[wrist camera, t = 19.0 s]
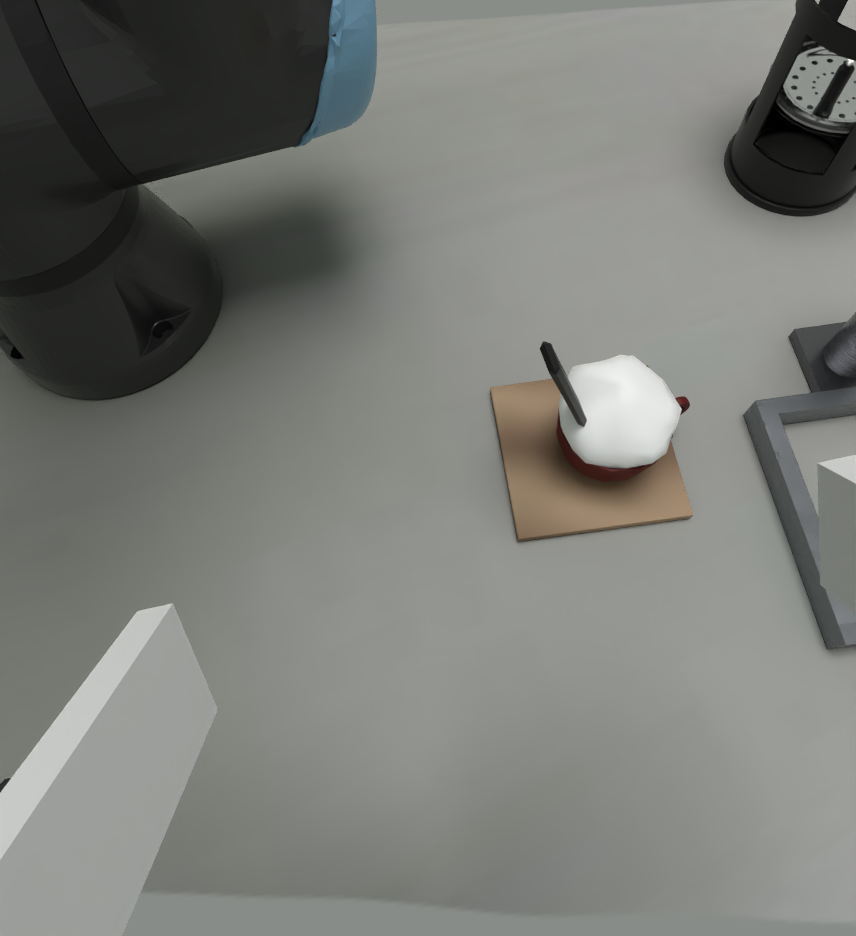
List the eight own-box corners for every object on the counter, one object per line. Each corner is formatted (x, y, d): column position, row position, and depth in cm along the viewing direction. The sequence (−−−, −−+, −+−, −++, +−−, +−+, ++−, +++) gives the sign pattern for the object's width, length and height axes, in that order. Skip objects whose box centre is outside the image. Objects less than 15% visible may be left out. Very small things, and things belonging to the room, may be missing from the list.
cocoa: (670, 409, 39) (761, 275, 28) (674, 504, 36) (776, 397, 25) (516, 395, 39) (545, 257, 28) (509, 487, 37) (539, 375, 26)
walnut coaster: (490, 392, 40) (490, 387, 40) (645, 370, 40) (648, 365, 40) (518, 541, 36) (518, 539, 36) (689, 518, 36) (693, 515, 36)
